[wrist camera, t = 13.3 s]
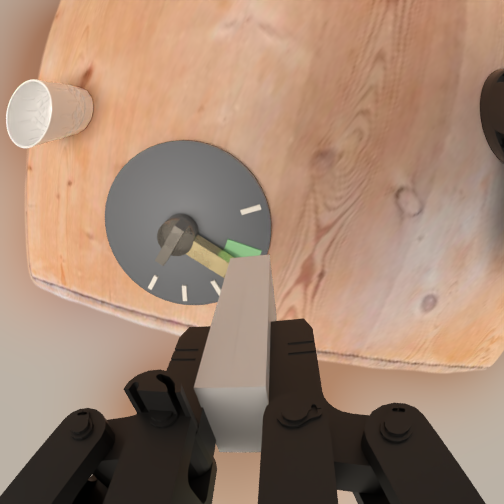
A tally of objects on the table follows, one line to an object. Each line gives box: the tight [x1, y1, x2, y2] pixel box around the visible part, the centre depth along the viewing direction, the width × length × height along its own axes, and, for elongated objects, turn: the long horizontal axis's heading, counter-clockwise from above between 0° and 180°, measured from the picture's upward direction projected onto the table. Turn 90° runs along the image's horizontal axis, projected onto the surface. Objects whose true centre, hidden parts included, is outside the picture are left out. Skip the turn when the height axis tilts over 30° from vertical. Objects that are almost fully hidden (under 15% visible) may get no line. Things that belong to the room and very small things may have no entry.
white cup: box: [6, 79, 94, 148], centre depth 29 cm, size 8×8×10 cm
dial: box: [105, 140, 271, 305], centre depth 39 cm, size 22×22×2 cm
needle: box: [155, 214, 234, 278], centre depth 37 cm, size 13×5×5 cm, turn 56°
